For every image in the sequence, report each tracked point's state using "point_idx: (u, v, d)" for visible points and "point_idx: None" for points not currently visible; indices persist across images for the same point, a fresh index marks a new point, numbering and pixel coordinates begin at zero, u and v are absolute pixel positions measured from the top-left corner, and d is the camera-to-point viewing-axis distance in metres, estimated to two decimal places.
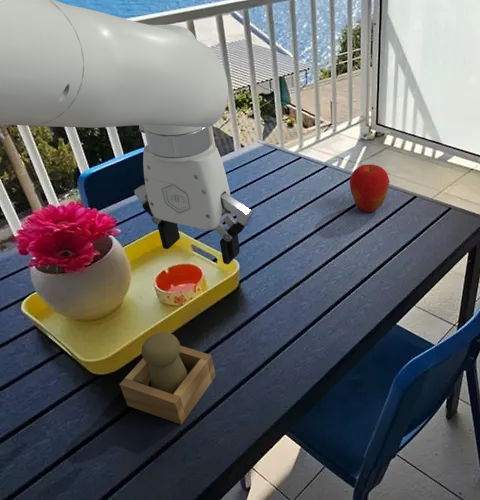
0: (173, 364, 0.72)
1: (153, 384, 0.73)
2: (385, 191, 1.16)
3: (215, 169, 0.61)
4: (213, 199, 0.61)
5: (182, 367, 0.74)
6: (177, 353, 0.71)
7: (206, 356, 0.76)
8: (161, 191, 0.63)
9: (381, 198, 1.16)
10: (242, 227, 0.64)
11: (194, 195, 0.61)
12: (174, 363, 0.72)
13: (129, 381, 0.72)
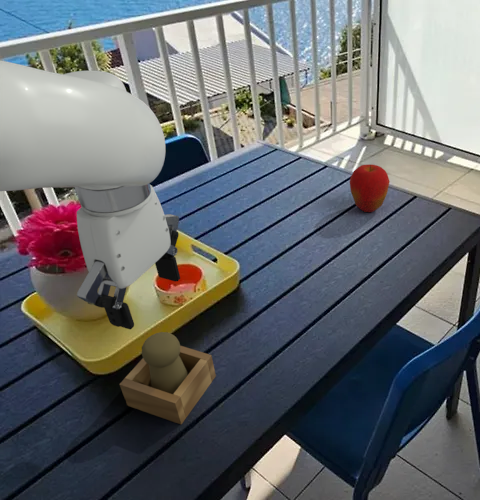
0: (173, 364, 0.72)
1: (153, 384, 0.73)
2: (385, 191, 1.16)
3: (88, 233, 0.54)
4: (84, 254, 0.57)
5: (182, 367, 0.74)
6: (177, 353, 0.71)
7: (206, 356, 0.76)
8: None
9: (381, 198, 1.16)
10: None
11: None
12: (174, 363, 0.72)
13: (129, 381, 0.72)
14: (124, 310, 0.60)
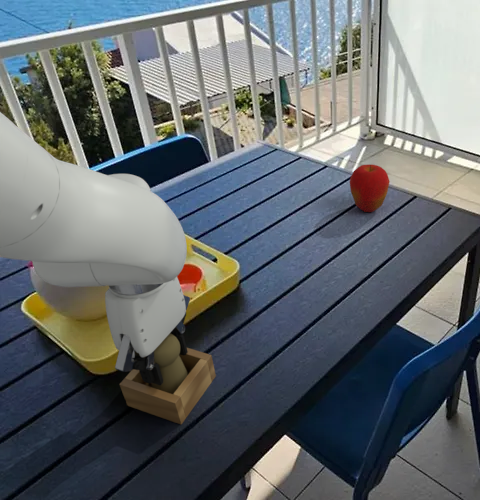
0: (173, 364, 0.72)
1: (153, 384, 0.73)
2: (385, 191, 1.16)
3: (115, 312, 0.61)
4: (111, 329, 0.63)
5: (182, 367, 0.74)
6: (177, 353, 0.71)
7: (206, 356, 0.76)
8: None
9: (381, 198, 1.16)
10: None
11: None
12: (174, 363, 0.72)
13: (129, 381, 0.72)
14: (156, 369, 0.69)
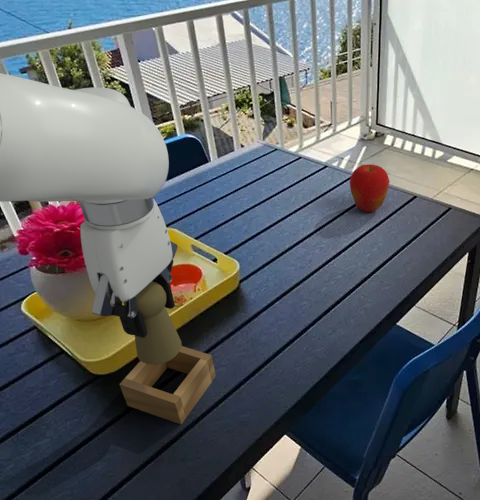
0: (158, 315, 0.65)
1: (137, 339, 0.67)
2: (385, 191, 1.16)
3: (91, 246, 0.55)
4: (87, 268, 0.57)
5: (169, 320, 0.68)
6: (162, 303, 0.65)
7: (206, 356, 0.76)
8: None
9: (381, 198, 1.16)
10: None
11: None
12: (159, 314, 0.65)
13: (129, 381, 0.72)
14: (138, 318, 0.62)
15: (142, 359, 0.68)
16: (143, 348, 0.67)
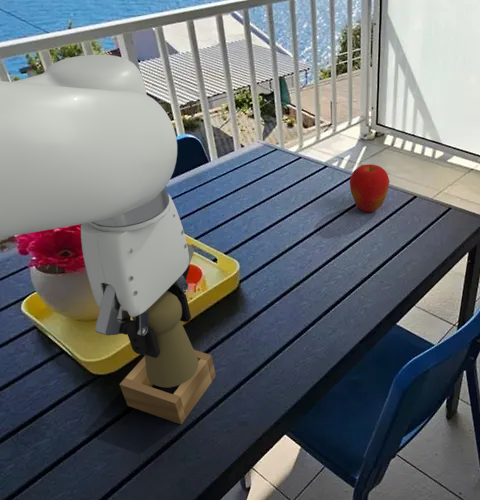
0: (173, 331, 0.55)
1: (147, 358, 0.57)
2: (385, 191, 1.16)
3: (94, 251, 0.45)
4: (89, 277, 0.47)
5: (184, 336, 0.58)
6: (178, 317, 0.55)
7: (206, 356, 0.76)
8: None
9: (381, 198, 1.16)
10: None
11: None
12: (174, 330, 0.56)
13: (129, 381, 0.72)
14: (150, 336, 0.52)
15: (153, 381, 0.58)
16: (155, 368, 0.57)
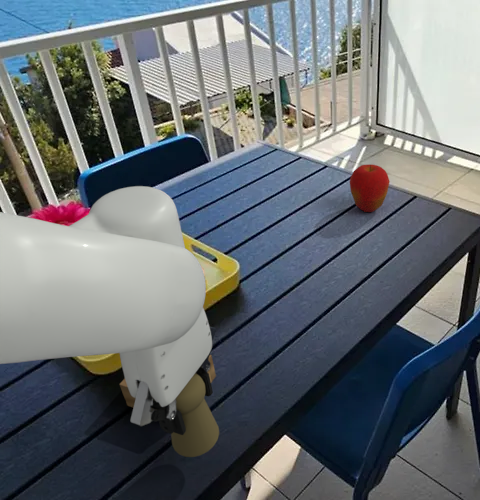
0: (197, 409, 0.60)
1: None
2: (385, 191, 1.16)
3: (131, 355, 0.50)
4: (125, 374, 0.52)
5: (207, 411, 0.63)
6: (202, 397, 0.60)
7: None
8: None
9: (381, 198, 1.16)
10: None
11: None
12: (198, 408, 0.60)
13: None
14: (177, 418, 0.57)
15: (178, 451, 0.63)
16: (180, 441, 0.62)
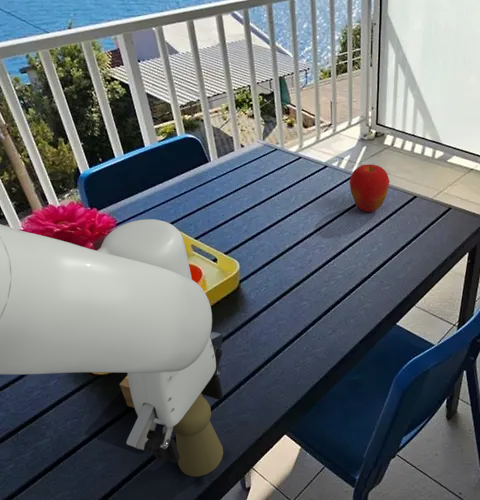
0: (203, 431, 0.63)
1: (180, 452, 0.65)
2: (385, 191, 1.16)
3: (139, 379, 0.52)
4: (133, 396, 0.54)
5: (212, 432, 0.65)
6: (208, 419, 0.62)
7: None
8: None
9: (381, 198, 1.16)
10: None
11: None
12: (204, 430, 0.63)
13: None
14: (171, 447, 0.57)
15: (184, 471, 0.66)
16: (186, 461, 0.65)
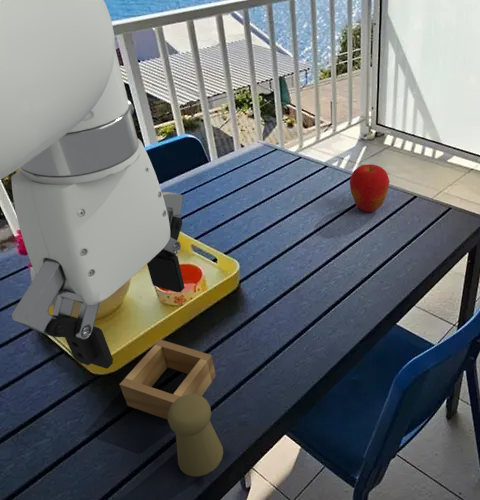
0: (203, 431, 0.63)
1: (180, 452, 0.65)
2: (385, 191, 1.16)
3: (31, 212, 0.32)
4: (28, 250, 0.34)
5: (212, 432, 0.65)
6: (208, 419, 0.62)
7: (206, 356, 0.76)
8: None
9: (381, 198, 1.16)
10: None
11: None
12: (204, 430, 0.63)
13: (129, 381, 0.72)
14: (96, 339, 0.37)
15: (184, 471, 0.66)
16: (186, 461, 0.65)
